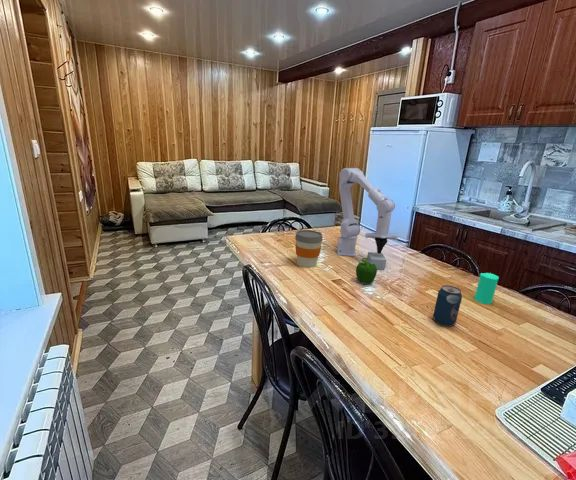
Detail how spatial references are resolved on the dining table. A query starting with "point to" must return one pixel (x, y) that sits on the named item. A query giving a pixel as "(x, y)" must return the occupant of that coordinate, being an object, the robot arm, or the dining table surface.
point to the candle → (486, 288)
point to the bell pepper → (366, 272)
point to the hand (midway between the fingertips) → (378, 252)
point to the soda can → (447, 305)
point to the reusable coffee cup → (308, 247)
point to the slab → (376, 259)
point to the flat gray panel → (376, 267)
